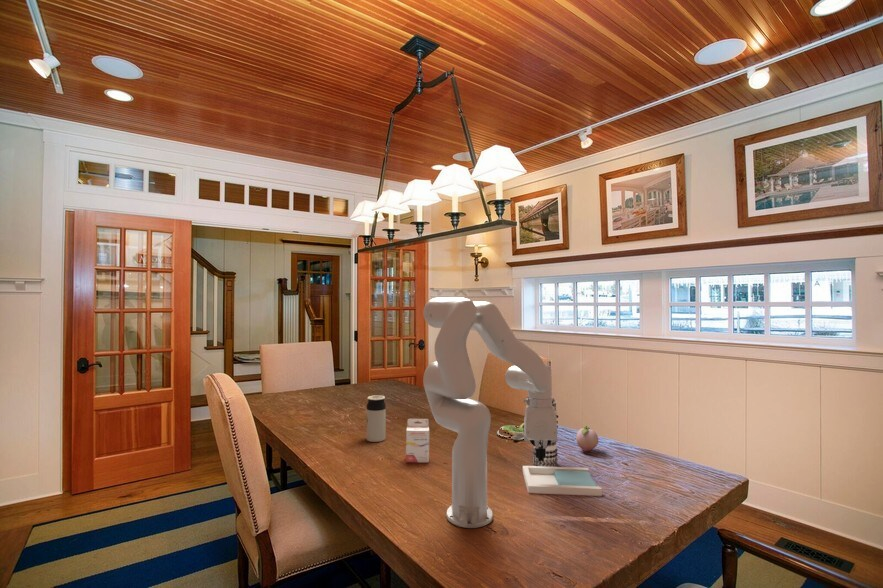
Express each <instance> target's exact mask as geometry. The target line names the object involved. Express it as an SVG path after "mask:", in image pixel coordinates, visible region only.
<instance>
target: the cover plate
mask: <svg viewBox="0 0 883 588" xmlns="http://www.w3.org/2000/svg"><path fill="white" fill-rule="evenodd" d="M554 476H555V478H556V481H557V483H558V485H570V486H597V487H599V485H597V483H596V481H595V480H594V479H593V477H592V476H591V474H590V471H589V472H587V471H559V470H554Z"/></svg>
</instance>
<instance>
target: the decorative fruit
mask: <svg viewBox="0 0 883 588" xmlns="http://www.w3.org/2000/svg"><path fill="white" fill-rule="evenodd" d="M575 436H576V437H575V440H576V443H577V446H578V447H579V448H580V449H581V450H582V451H584V452H590V451H592V450H593V449H595V448H596V447H597V446H598V444H599V437H598V434H597V432H596V431H595V430H593V429H592V428H590V427H588V426H587V425H585V427H583V428H582V427H581V428H580V429H578V431H577V433H576V435H575Z"/></svg>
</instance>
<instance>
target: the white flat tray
mask: <svg viewBox="0 0 883 588" xmlns="http://www.w3.org/2000/svg"><path fill="white" fill-rule="evenodd" d="M554 470H559V471H587V472H589V473H590V469H589V467H575V466H574V467H573V466H572V467H571V466H556V467H547V466H535V465H522V474H523V478H524V482H525V485H526V489H527V493H528V494H545V495H548V494H549V495H570V496H571V495H572V496H594V497H595V496H596V497H598V496H600V497H602V496H603V488H602V487H601V486H598V485H597V486H598V487H597V486H570V485H558V483H557V481H556V478H555V476H554Z"/></svg>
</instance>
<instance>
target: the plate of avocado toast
mask: <svg viewBox="0 0 883 588" xmlns="http://www.w3.org/2000/svg"><path fill="white" fill-rule="evenodd" d="M515 426H517V425H511V424H508V425H503V426H501V427H500V428H499V429H501V428H502V430H505V431H508V432H509V433H510V434H511V435H512V436H513V437H511V435H510V434H509V435H510V437H511V438H512V439H513V440H512V441H519V440H518V439H523V437H524V422H522V423H520V425H519V426H517V427H519V428H516V427H515ZM496 434H497V435H498V436H499V435H500V436H504V437H508V435H507V436H506V435H504V434H503V435H501V434H500V433H499V430H497V431H496ZM500 436H499V437H500Z"/></svg>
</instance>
